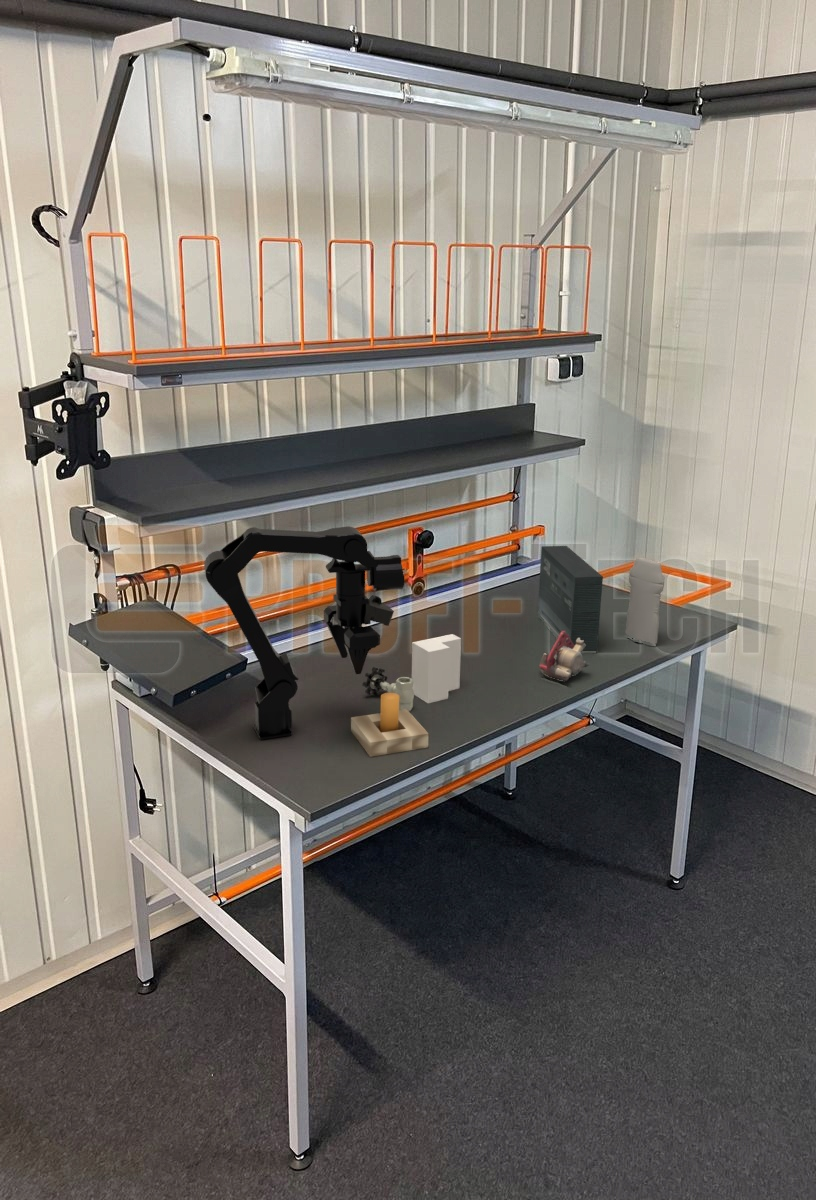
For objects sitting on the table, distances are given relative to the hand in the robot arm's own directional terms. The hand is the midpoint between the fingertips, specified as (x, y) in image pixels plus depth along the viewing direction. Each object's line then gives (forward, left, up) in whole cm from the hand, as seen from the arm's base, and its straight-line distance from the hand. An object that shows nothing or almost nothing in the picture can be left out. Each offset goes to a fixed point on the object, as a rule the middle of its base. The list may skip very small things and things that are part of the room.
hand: (351, 665), depth 194 cm
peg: (+5, -9, -13) cm, 16 cm away
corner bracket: (+23, +11, -13) cm, 29 cm away
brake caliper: (+54, +8, -13) cm, 56 cm away
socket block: (+5, -9, -13) cm, 17 cm away
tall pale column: (+85, +22, -13) cm, 89 cm away
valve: (+12, +8, -13) cm, 19 cm away
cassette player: (+69, +33, -13) cm, 78 cm away
